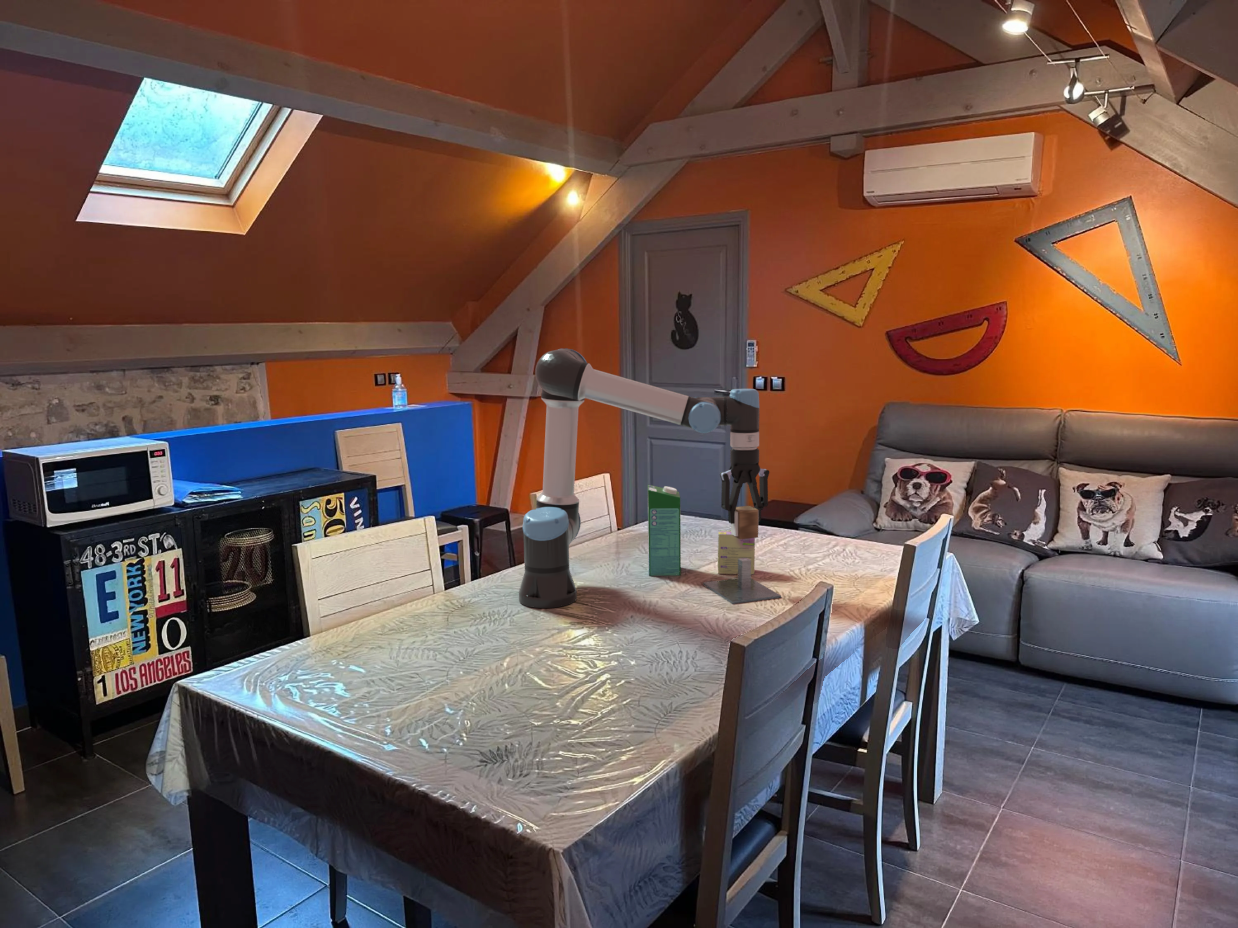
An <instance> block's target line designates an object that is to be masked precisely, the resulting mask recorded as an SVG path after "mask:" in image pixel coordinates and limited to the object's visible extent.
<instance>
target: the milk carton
mask: <svg viewBox="0 0 1238 928" xmlns="http://www.w3.org/2000/svg"><path fill="white" fill-rule="evenodd" d="M647 523H648V524H647V537H648V539H647V541H648V543H647V546H648V547H647V549H648V551H647V552H648V553H647V554H648V555H647V556H648V557H647V558H648V575H649V577H655V576H657V577H661V576H663V577H664V576H665V577H667V576H668V577H670V576H671V577H673V576H677V577H678V576H681V575H682V572H681V571H682V568H681V564H682V563H681V560H682V558H681V553H682V552H681V550H682V549H681V544H682V543H681V535H682V534H681V531H682V530H681V527H682V526H681V525H682V524H681V496H680V492H679V491H678V490H677V488H675V487H672V486H666V485H664V486H663V487H659V486H656V485H652V484H647Z"/></svg>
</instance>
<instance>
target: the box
mask: <svg viewBox="0 0 1238 928" xmlns="http://www.w3.org/2000/svg"><path fill="white" fill-rule="evenodd" d="M755 543H756V538H749V539H738V538H736V537H734V536H732V534H731V529H729V530H728V529H718V533H717V572H718V573H717V574H719V575H723V574H725V575H728V574H729V575H738V559H740V558H748V559H750V560H751V576H752V575H755V561H756V560H755V559H756V558H755V553H756V552H755V550H756V548H755V547H756V546H755V545H756V544H755Z"/></svg>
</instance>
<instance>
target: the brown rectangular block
mask: <svg viewBox="0 0 1238 928" xmlns="http://www.w3.org/2000/svg"><path fill="white" fill-rule="evenodd" d="M735 511H737V512H738V536H734V535H732V536H734V537H736V538H738V539H749V538H755V539H758V538H759V521H758V509H756V508H755V507H754V506H751V505H745V506H744V505H743V506H736V510H735Z"/></svg>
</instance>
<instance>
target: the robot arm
mask: <svg viewBox="0 0 1238 928" xmlns="http://www.w3.org/2000/svg"><path fill="white" fill-rule="evenodd" d="M534 371H535V372H534V373H535V378H536V383H537V384H538V386H539V387H540V388H541V397H540V398H541V400H542V401H543V402H544V404H545V405H546V410H545V413H546V415H545V430H544V431H545V437H544V451H543V452H544V454H543V475H542V477H543V479H542V492H541V493H540V494H539V495H538V496H537V497H536V505H535V506H536V507H535V509H531V510H529V511H527V512H526V513H525V514H524V516H523V522H522V532H523V558H524V559H523V560H524V573H523V577H522V580H521V583H520V588H519V590H518V602H519V603H520V604H521V605H523V606H524V607H525V606H526V607H529V608H537V609H552V608H553V609H554V608H559V607H564V606H569V605H571V604H574V603H575V602H576V601H577V599H578V594H577V591H578V590H577V587H576V585H575V582H574V579H573V575H572V573H571V570H570V544H571V543H572V542H573V541H574V540H576V538H577V536H578V534H579V532H580V529H581V526H582V525H581V523H582V521H581V520H582V519H581V515H580V512H579V511H580V510H579V508H580V499H579V497H577V496H576V494H575V482H576V481H575V480H576V478H575V477H576V464H577V463H576V459H577V446H578V445H577V443H578V442H577V441H578V440H577V439H578V427H579V426H578V424H579V408H580V406H581V405H582V404H583V403H585V399H586V400H590V401H591V400H592V401H595V402H597V403H601V404H605V405H609V406H612V407H616V408H620V409H621V410H622V409H623V410H627V411H630V412H633V413H637V414H640V415H644V416H648V417H651V418H655V419H658V420H662V421H666V422H669V423H672V424H676V425H679V426H682V427H685V428H689V429H692V430H693V431H695V432H696V433H700V434H708V433H711V432H713V431H715V430H716V429H717V428H718V427H719V426H722V427H723V426H724V427H725V426H730V435H729V437H730V439H729V441H730V447H731V449H730V455H729V457H730V458H729V459H730V466H729V468H728V469H729V470H726V471H723V472H722V471H720V472H719V477H720V480H721V500H720V501H721V502H720V503H721V506H720V507H721V509H723V510H725V511H727V513H728V515H727V516H728V517H727V519H728V523H729V524H730V527H731V528H730V530H731V534H732V535H734V536H738V512H737V511H735V510H736V507H738V506H737V505H738V502H739V501H738V500H739V497H740V493H741V490H742V488H743V485H744V484H747V485H748V488H749V492H750V497H751V501H752V504H753V508H756V509H758V522H760V521H761V520H762V511H763V510H764V508H766V507H768V506H769V489H768V488H769V487H768V485H769V484H768V479H769V475H770V470H769V469H766V468H761V466H760V464H759V463H760V449H759V448H758V447H760V392H759V391H758V390H757V389H754V388H734V389H733V388H732V389H731V390H730V394H729V396H722V397H721V396H718V397H717V396H713V397H712V396H707V397H706V396H704V397H702V396H695V397H693V396H689V395H686V394H682V393H679V392H675V391H672V390H668V389H666V388H665V389H664V388H661V387H657V386H654V385H651V384H647V383H644V382H640V381H636V380H633V379H630V378H625V377H623V376H619V375H616V374H611V373H609V372H605V371H601V370H598V369H594V368H593V367H592V365H591V363H588V362H587V360H586V359H585V357H584V356H583V355H582V354H581V353H580V352H578V351H576V350H574V349H570V348H559V349H555V350H550V351H547V352H545V353H544V354H543V355H542V356H541V357H540V358H539V359H538V361H537V362H536V365H535V370H534ZM757 476H758V477H759V478H758V479H759V490H758V482H757ZM731 477H732V478H733V481H732V487H731V485H730V484H731V482H730V479H731ZM730 490H731V492H730Z"/></svg>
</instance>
